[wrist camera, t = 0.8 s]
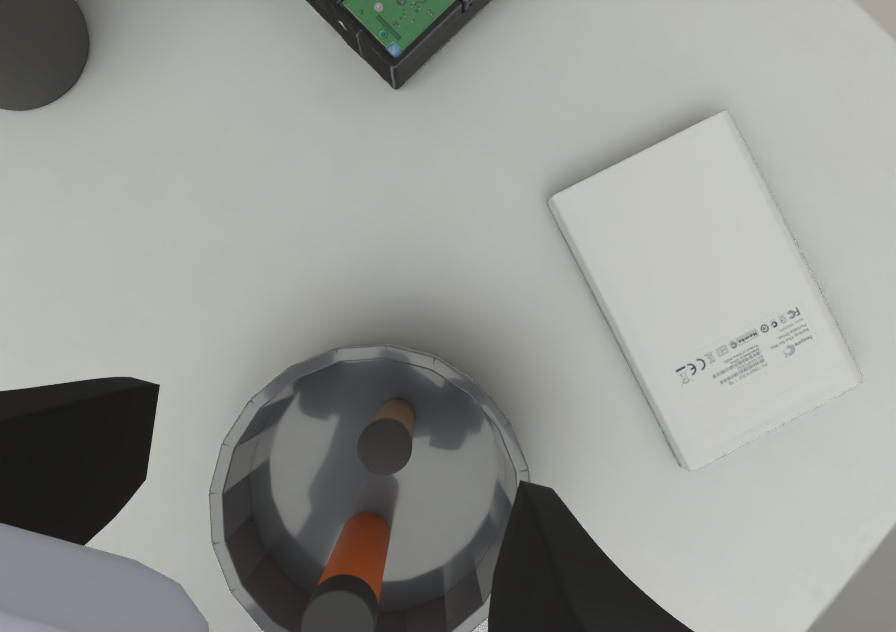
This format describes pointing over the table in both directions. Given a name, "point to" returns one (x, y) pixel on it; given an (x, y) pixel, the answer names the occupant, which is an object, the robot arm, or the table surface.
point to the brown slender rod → (388, 438)
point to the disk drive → (397, 30)
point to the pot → (366, 489)
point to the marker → (351, 579)
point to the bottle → (39, 51)
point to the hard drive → (705, 291)
